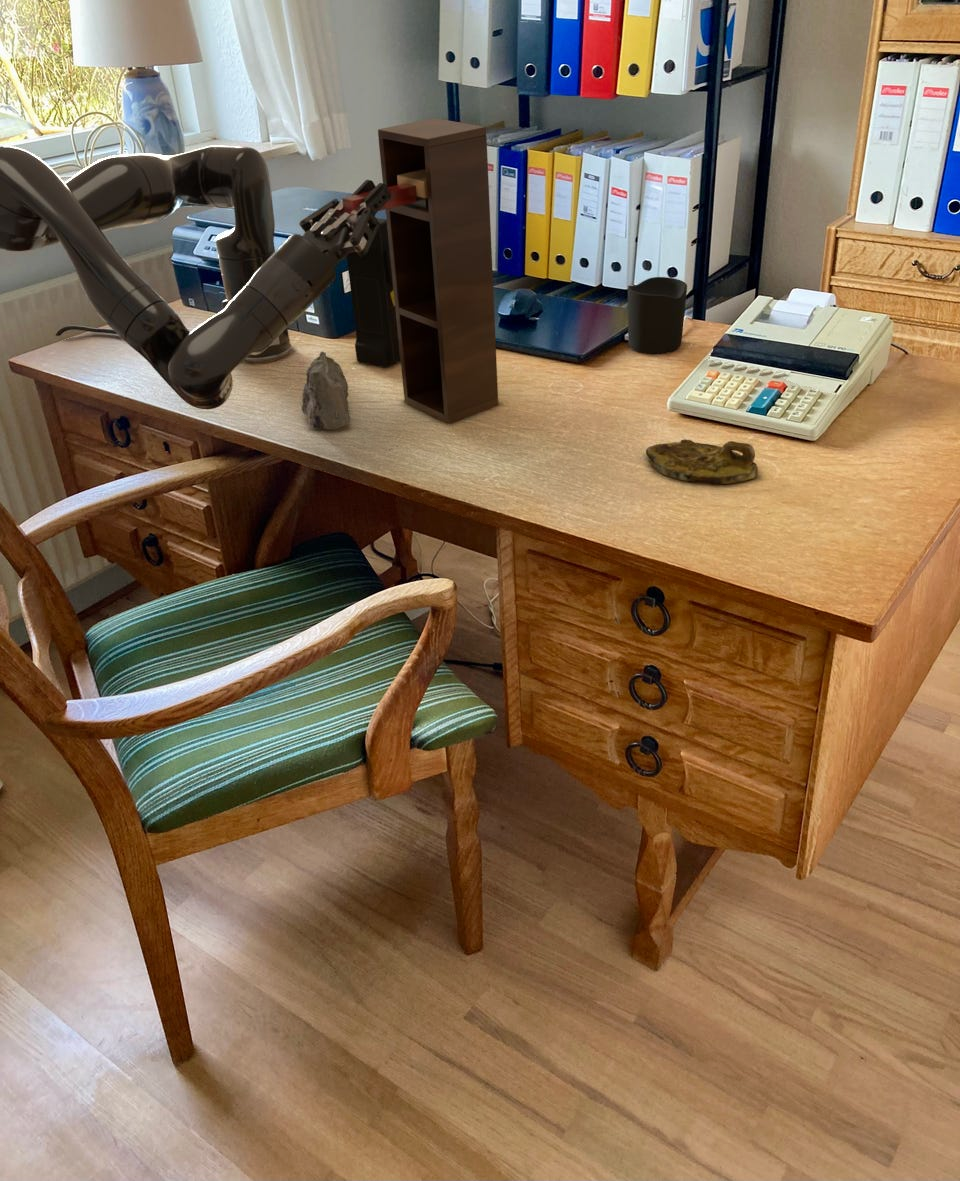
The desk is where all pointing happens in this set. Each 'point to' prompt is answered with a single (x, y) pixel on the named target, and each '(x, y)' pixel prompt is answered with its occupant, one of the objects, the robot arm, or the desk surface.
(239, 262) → the robot arm
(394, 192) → the brush
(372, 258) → the portable radio
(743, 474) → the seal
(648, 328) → the pen holder
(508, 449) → the desk surface
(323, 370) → the mineral rock
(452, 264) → the shelf
